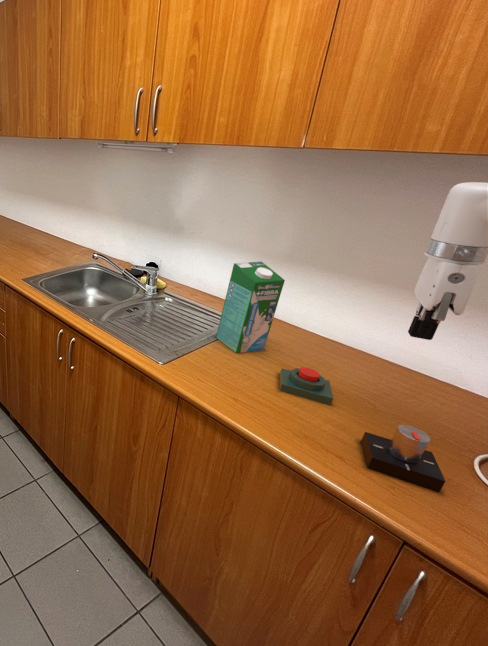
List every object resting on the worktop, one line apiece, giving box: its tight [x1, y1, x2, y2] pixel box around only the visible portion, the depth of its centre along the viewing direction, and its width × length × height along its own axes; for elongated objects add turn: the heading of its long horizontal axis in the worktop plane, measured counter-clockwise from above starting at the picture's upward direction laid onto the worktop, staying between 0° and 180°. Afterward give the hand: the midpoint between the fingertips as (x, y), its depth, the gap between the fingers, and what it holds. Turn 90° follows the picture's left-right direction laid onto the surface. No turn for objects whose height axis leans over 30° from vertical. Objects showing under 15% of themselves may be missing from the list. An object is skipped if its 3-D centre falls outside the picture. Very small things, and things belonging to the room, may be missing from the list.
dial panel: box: [359, 431, 446, 493], centre depth 78 cm, size 10×9×3 cm
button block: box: [278, 367, 334, 406], centre depth 99 cm, size 10×8×4 cm
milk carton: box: [215, 261, 286, 354], centre depth 115 cm, size 9×9×25 cm
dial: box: [387, 424, 431, 464], centre depth 76 cm, size 4×4×6 cm
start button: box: [298, 366, 321, 382], centre depth 98 cm, size 4×4×2 cm
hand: (419, 336), depth 80 cm, fingers closed
